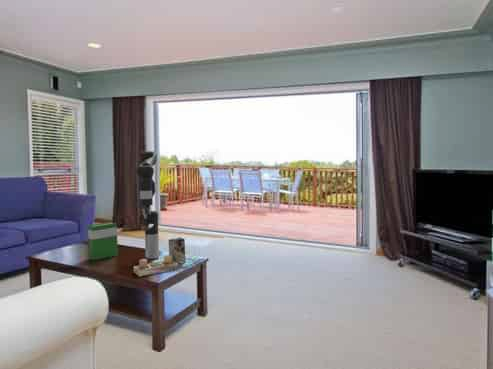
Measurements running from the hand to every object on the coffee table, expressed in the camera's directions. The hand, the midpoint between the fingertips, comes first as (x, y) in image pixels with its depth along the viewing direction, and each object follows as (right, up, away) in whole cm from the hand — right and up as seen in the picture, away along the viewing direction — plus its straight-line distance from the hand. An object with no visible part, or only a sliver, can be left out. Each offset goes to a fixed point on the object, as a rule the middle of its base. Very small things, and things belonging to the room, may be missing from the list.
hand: (147, 224), depth 234 cm
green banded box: (-40, -27, +33) cm, 58 cm away
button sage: (+6, -28, 0) cm, 29 cm away
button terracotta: (-1, -26, -5) cm, 27 cm away
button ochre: (+12, -25, +4) cm, 28 cm away
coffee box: (+16, -28, +17) cm, 36 cm away
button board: (+6, -29, 0) cm, 29 cm away
